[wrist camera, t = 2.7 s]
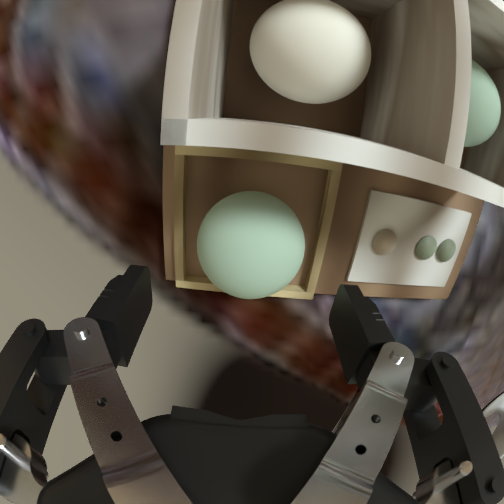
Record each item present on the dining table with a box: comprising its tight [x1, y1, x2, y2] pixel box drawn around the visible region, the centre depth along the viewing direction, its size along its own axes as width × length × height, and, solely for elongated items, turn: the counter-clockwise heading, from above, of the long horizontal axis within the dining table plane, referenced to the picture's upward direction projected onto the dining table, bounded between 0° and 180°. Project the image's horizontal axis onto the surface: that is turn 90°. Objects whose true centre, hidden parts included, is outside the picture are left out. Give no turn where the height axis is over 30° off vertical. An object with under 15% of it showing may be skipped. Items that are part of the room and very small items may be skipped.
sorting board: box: [160, 0, 504, 299], centre depth 12 cm, size 25×23×10 cm
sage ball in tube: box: [464, 60, 501, 147], centre depth 11 cm, size 6×6×6 cm
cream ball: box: [250, 0, 371, 104], centre depth 11 cm, size 6×6×6 cm
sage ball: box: [197, 191, 305, 299], centre depth 16 cm, size 6×6×6 cm
